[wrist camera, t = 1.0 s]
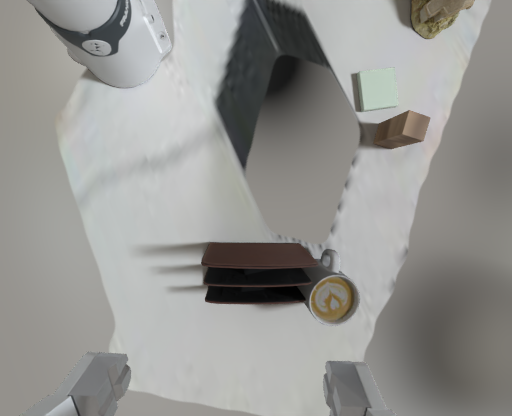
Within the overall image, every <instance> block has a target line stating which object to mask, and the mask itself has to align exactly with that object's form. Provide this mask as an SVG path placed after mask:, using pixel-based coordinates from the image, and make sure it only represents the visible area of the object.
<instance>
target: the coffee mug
mask: <svg viewBox="0 0 512 416" xmlns="http://www.w3.org/2000/svg"><path fill="white" fill-rule="evenodd" d="M315 260H316V261H317V262H318V266H315V267H304V268H302V269H303V271H304V272H305V273H306V274H307V275H308V277H309V278H310V279H311V280H312V283H311V284H309V285H299V286H297V287H298V289H299V290H300V291H301V293H302V294H303V295H304V297H305V298H306V301H304V303H305V305H306V306H307V308H308V309H309V311H310V312H311V314H312V315H313V317H314V318H315V319H316V320H317V321H319V322H320V323H322V324H324V325H328V326H338V325H341V324H344V323H346V322H347V321H349V320H350V319H351V318H352V317H353V316H354V315H355V313H356V311H357V309H358V307H359V303H360V295H359V290H358V288H357V286H356V285H355V283H354V282H353V281H352V280H351V279H350V278H348V277H347V276H346V275H344V274H343V273H342V272H340V271H339V268H340V256H339V254H338V253H337V252H336V251H335V250H331V249H326V250H324V252H323V253H322V256H321V259H315Z"/></svg>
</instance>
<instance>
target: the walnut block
mask: <svg viewBox="0 0 512 416" xmlns="http://www.w3.org/2000/svg"><path fill="white" fill-rule="evenodd" d="M429 121H430V117H427V116H425V115H422V114H419V113H416V112H413V111H410V110H409V111H407V112H404V113H402V114H400V115H397V116H395V117H393V118H391V119H388V120H386V121H384V122H382V123H379V126H378V129H377V133H376V136H375V139H374V144H377V145H380V146H383V147H386V148H389V149H394V148H398V147H402V146H406V145H410V144H414V143H418V142H422V141H424V137H425V134H426V131H427V128H428V124H429Z"/></svg>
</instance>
